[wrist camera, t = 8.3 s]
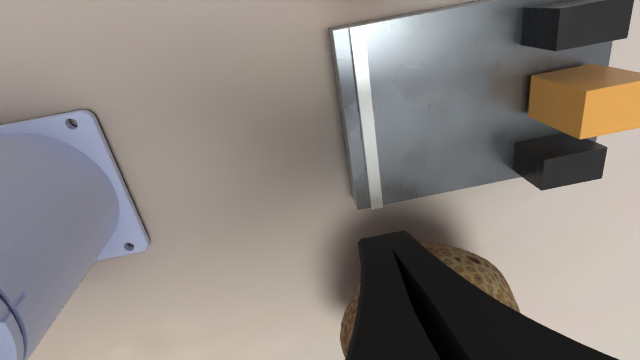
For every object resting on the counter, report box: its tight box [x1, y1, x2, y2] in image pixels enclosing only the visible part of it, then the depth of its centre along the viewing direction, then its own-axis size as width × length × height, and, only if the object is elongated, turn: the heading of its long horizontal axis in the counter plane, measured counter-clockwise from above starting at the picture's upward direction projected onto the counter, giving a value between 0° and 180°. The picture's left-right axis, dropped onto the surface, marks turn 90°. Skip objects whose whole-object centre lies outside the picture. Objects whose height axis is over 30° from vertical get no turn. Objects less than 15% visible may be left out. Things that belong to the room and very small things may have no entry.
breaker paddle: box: [528, 64, 640, 140], centre depth 17 cm, size 3×2×4 cm, turn 99°
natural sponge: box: [340, 242, 520, 358], centre depth 20 cm, size 9×9×10 cm
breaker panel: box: [328, 0, 634, 210], centre depth 18 cm, size 13×9×4 cm
